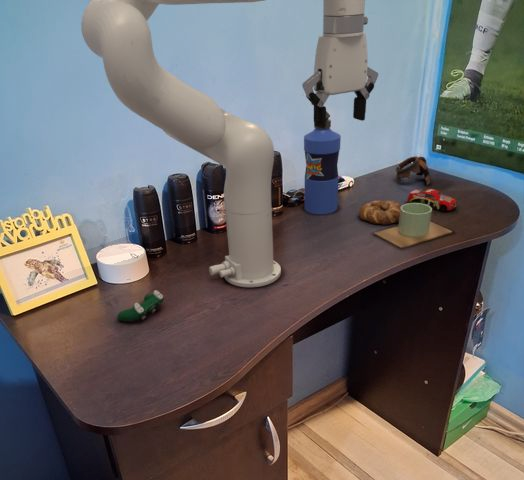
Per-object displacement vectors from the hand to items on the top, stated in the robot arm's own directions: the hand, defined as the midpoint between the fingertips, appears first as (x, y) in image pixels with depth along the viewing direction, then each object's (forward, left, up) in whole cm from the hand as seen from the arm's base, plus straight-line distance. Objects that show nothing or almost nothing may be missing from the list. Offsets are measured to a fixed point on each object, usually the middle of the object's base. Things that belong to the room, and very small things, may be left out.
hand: (339, 123), depth 111 cm
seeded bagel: (+21, +9, -28) cm, 37 cm away
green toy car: (-48, -3, -28) cm, 56 cm away
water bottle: (+12, +24, -28) cm, 39 cm away
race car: (+37, +8, -28) cm, 48 cm away
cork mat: (+21, -3, -28) cm, 35 cm away
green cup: (+21, -3, -28) cm, 35 cm away
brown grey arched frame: (+47, +26, -28) cm, 61 cm away
